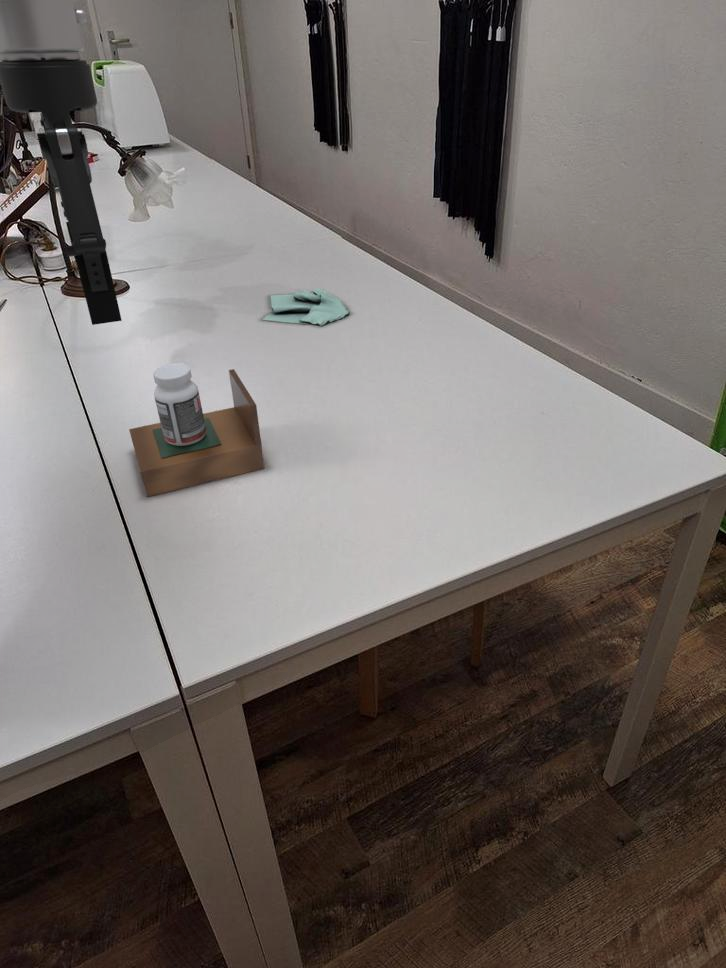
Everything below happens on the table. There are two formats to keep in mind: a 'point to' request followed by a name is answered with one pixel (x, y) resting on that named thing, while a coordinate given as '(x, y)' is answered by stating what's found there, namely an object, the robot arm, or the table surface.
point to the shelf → (202, 447)
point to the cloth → (306, 308)
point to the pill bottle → (178, 405)
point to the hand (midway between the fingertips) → (100, 301)
